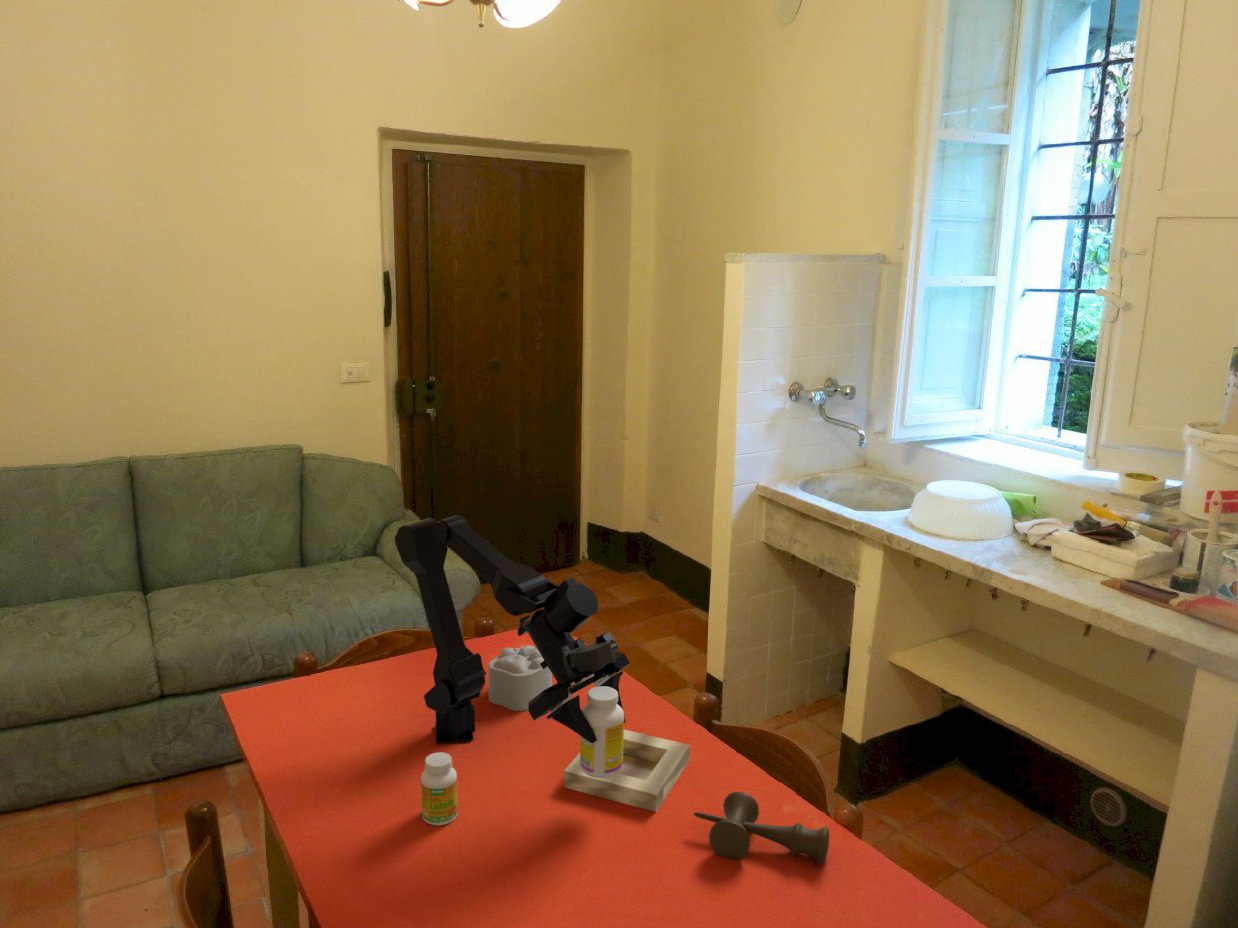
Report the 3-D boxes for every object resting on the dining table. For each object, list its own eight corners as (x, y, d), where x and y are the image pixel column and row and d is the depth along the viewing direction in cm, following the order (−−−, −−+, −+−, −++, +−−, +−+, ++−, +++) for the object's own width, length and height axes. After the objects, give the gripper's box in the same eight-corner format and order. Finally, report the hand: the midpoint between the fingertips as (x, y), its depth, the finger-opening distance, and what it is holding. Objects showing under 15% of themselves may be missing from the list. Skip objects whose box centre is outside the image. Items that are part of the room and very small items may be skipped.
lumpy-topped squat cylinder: (481, 699, 179) (480, 657, 177) (523, 673, 189) (523, 634, 187) (524, 714, 173) (523, 672, 171) (564, 687, 184) (564, 647, 182)
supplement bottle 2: (625, 759, 147) (628, 685, 144) (618, 782, 141) (621, 705, 138) (584, 754, 148) (586, 680, 145) (575, 777, 142) (577, 700, 139)
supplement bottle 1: (427, 830, 139) (425, 772, 137) (418, 810, 144) (415, 754, 141) (462, 820, 142) (461, 763, 139) (451, 801, 146) (450, 746, 144)
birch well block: (564, 787, 151) (564, 770, 150) (604, 739, 165) (604, 724, 164) (656, 811, 145) (656, 794, 144) (689, 760, 159) (690, 744, 158)
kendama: (822, 885, 130) (684, 849, 136) (830, 845, 139) (700, 813, 145) (826, 847, 129) (687, 813, 135) (834, 809, 137) (703, 779, 143)
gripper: (542, 641, 134) (599, 736, 130) (622, 603, 148) (676, 688, 144) (504, 674, 141) (557, 765, 137) (584, 635, 155) (634, 717, 151)
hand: (609, 732), depth 142 cm, fingers closed on supplement bottle 2, 7 cm apart
